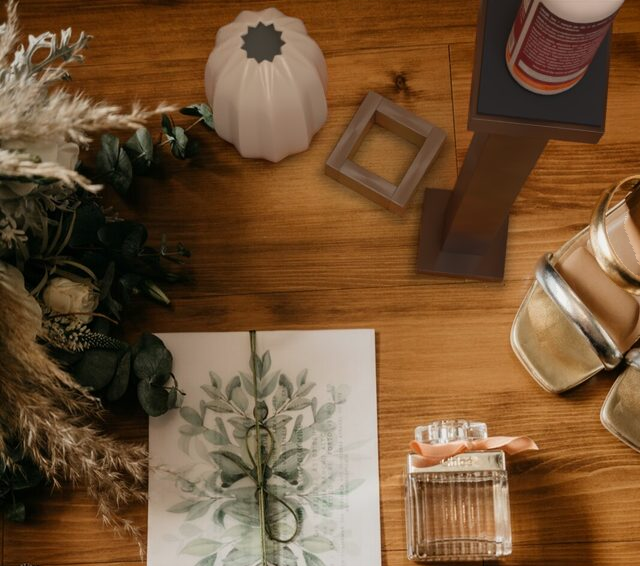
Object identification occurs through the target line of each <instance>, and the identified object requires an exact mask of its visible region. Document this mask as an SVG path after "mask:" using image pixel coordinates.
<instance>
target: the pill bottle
mask: <svg viewBox="0 0 640 566" xmlns="http://www.w3.org/2000/svg"><path fill="white" fill-rule="evenodd" d="M624 3H625V0H522V3H521V6H520V9H519V11H518V14H517V17H516V20H515V22H514V25H513V28H512V31H511V33H510V36H509V39H508V43H507V47H506V62H507V66H508V69H509V71H510V73H511V75H512V76H513V78H514V79H515V80H516V81H517V82H518V83H519V84H520V85H521V86H523V87H524V88H526V89H527V90H529V91H532V92H534V93H538V94H543V95H552V94H557V93H561V92H563V91H566V90H568V89H569V88H571V87H573V86H574V85H575V84H576V83H577V82H578V81H579V80H580V79H581V78H582V76H583V75H584V73H585V72H586V70H587V68H588V66H589V64H590V63H591V61H592V59H593V57H594V55H595V54H596V52H597V50H598V48H599V46H600V44H601V43H602V41H603V39H604V37H605V35H606V33H607V32H608V30H609V28H610V26H611V24H612V22H613V23H614V20H615V19H616V17H617V15H618V14H619V12H620V10H621V9H622V6H623V4H624Z"/></svg>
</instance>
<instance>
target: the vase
mask: <svg viewBox="0 0 640 566" xmlns="http://www.w3.org/2000/svg"><path fill="white" fill-rule="evenodd" d="M203 77H204V79H203V84H204V93H205V98H206V100H207V102H208V105H209V107H210V109H211V110H212V118H213V119H212V120H213V126H214V130H215V132H216V135H217V136H218V137H219V138H221V139H222V140H224V141H226V142H228V143H229V144H232V145H233V146H234V147H235V149H236V150H237V152H238V153H239V155H240V156H241V157H242V158H244V159H247V158H248V159H263V160H266V161H269V162H273V163H278V162H280V161H282V160H283V159H285V158H287V157H288V156H291V155H295V154H298V153H301V152H305V151H308V149H309V147H310V145H311V142H312V139H313V137H314V135H315V134H316V133H318V132H319V131H320V130H321V129H322V128H323V127H324V126H325V125H326V123H327V120H328V113H329V111H328V110H329V109H328V103H327V97H326V96H327V92H328V87H329V72H328V67H327V63H326V59H325V56H324V53H323V50H322V49H321V48H320V45H318V43H317V42H316V41H315V40H314V39H313V38H312V37H311V36H310V35H309V34H308V30H307V27H306V24H305V23H304V22H303V21H302V19H300V18H298V17H293V16H288V15H286V14H284V13H283V12H282V11H281V10H279V9H278V8H276V7H272V6H271V7H268V8H265V9H262V10H257V11H256V10H247V9H245V10H241V11H240V12H239V14H237V16H236V17H235V18H234V20H232V22H230V23H227V24H225V25H223V26H221V27H220V28H219V29H218V30H217V32H216V34H215V41H214V47H213V49H212V50H211V52H210V53H209V56H208V59H207V61H206V63H205V68H204V76H203Z"/></svg>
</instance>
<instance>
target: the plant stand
mask: <svg viewBox="0 0 640 566" xmlns="http://www.w3.org/2000/svg"><path fill="white" fill-rule="evenodd" d="M487 1H488V0H480V3H479V6H478V9H477V20H476V29H475V39H474V40H475V41H474V48H473V49H474V50H473V59H472V60H473V61H472V70H471V79H470V91H469V99H468V100H469V101H468V111H467V119H466V120H467V122H466V131H467V132H473V134H472V137H471V140H470V143H469V144H468V148H467V150H466V153H465V155H464V158H463V161H462V163H461V167H460V169H459V172H458V175H457V177H456V179H455V182H454V185H453V187H452V189H444V188H436V187H435V188H434V187H425V188H424V191H423V200H422V209H421V217H420V227H419V239H418V248H417V257H416V267H415V268H416V269H415V274H416V275H423V276H425V275H426V276H434V277H444V278H451V279H452V278H453V279H461V280H471V281H478V282H479V281H480V282H490V283H497V284H499V283H500V284H502V282H503V281H504V278H505V268H506V267H505V266H506V256H507V245H508V236H509V235H508V234H509V224H510V223H509V222H510V213H511V212H510V211H511V209H512V207H513V205H514V203H516V200H517V198H518V197H519V195H520V193H521V191H522V189H523V188H524V186H525V184H526V183H527V181H528V179H529V177H530V175H531V174H532V172H533V170H534V168H535V166H536V165H537V164H538V162H539V160H540V158H541V156H542V154H543V152H544V151H545V149H546V147H547V145H548V143H549V142H550V141H558V142H559V141H560V142H567V143H578V144H587V145H598V143H599V142H600V140H601V139H602V138H603V136H604V135H605V133H606V120H607V109H608V108H607V107H608V95H609V83H610V72H611V71H610V70H611V59H612V58H611V57H612V45H613V44H612V43H613V33H614V21H613V22H612V24H611V26H610V28H609V37H608V49H607V62H606V74H605V87H604V99H603V112H602V124H601V126H600V127H593V126H583V125H574V124H564V123H555V122H546V121H536V120H527V119H517V118H508V117H499V116H489V115H480V114H477V105H478V95H479V84H480V74H481V64H482V53H483V43H484V33H485V22H486V12H487Z"/></svg>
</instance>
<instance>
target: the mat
mask: <svg viewBox="0 0 640 566" xmlns="http://www.w3.org/2000/svg"><path fill="white" fill-rule="evenodd" d="M521 3H522V0H488V1H487V12H486V22H485V33H484V43H483V53H482V64H481V74H480V84H479V95H478V105H477V114H480V115H489V116H499V117H508V118H517V119H527V120H536V121H546V122H555V123H564V124H574V125H583V126H593V127H600V126H601V124H602V112H603V99H604V87H605V74H606V62H607V49H608V37H609V30H608V32H607V33H606V35H605V37H604V39H603V41H602V43H601V44H600V46H599V48H598V50H597V52H596V54H595V55H594V57H593V59H592V61H591V63H590V64H589V66H588V68H587V70H586V72H585V73H584V75H583V76H582V78H581V79H580V80H579V81H578V82H577V83H576V84H575V85H574V86H573V87H571V88H569V89H568V90H566V91H563V92H561V93H557V94H552V95H543V94H538V93H534V92H532V91H529V90H527V89H526V88H524V87H523V86H521V85H520V84H519V83H518V82H517V81H516V80H515V79H514V78H513V76H512V75H511V73H510V71H509V69H508V66H507V62H506V47H507V43H508V39H509V36H510V33H511V31H512V28H513V25H514V22H515V20H516V17H517V14H518V11H519V9H520V6H521Z"/></svg>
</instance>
